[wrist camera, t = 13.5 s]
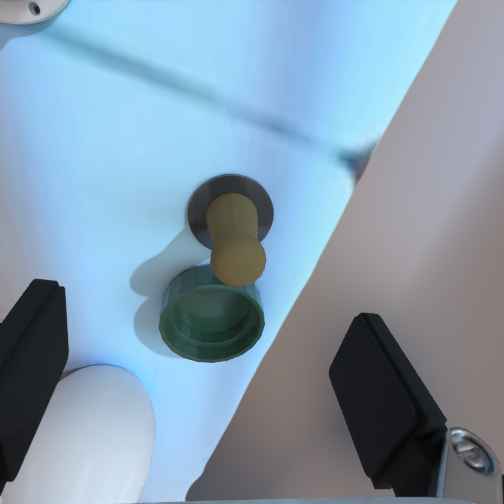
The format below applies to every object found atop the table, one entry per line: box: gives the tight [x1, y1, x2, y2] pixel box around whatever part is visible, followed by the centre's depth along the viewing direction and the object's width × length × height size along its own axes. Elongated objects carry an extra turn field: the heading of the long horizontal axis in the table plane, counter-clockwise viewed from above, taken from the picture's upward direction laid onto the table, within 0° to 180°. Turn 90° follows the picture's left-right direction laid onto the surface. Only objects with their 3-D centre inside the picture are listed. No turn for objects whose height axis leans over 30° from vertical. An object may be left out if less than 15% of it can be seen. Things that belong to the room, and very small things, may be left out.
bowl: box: [159, 265, 265, 363], centre depth 45 cm, size 13×13×4 cm
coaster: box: [188, 174, 274, 250], centre depth 40 cm, size 10×10×1 cm
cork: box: [206, 193, 266, 287], centre depth 35 cm, size 6×6×11 cm
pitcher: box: [3, 365, 156, 504], centre depth 40 cm, size 24×17×28 cm
